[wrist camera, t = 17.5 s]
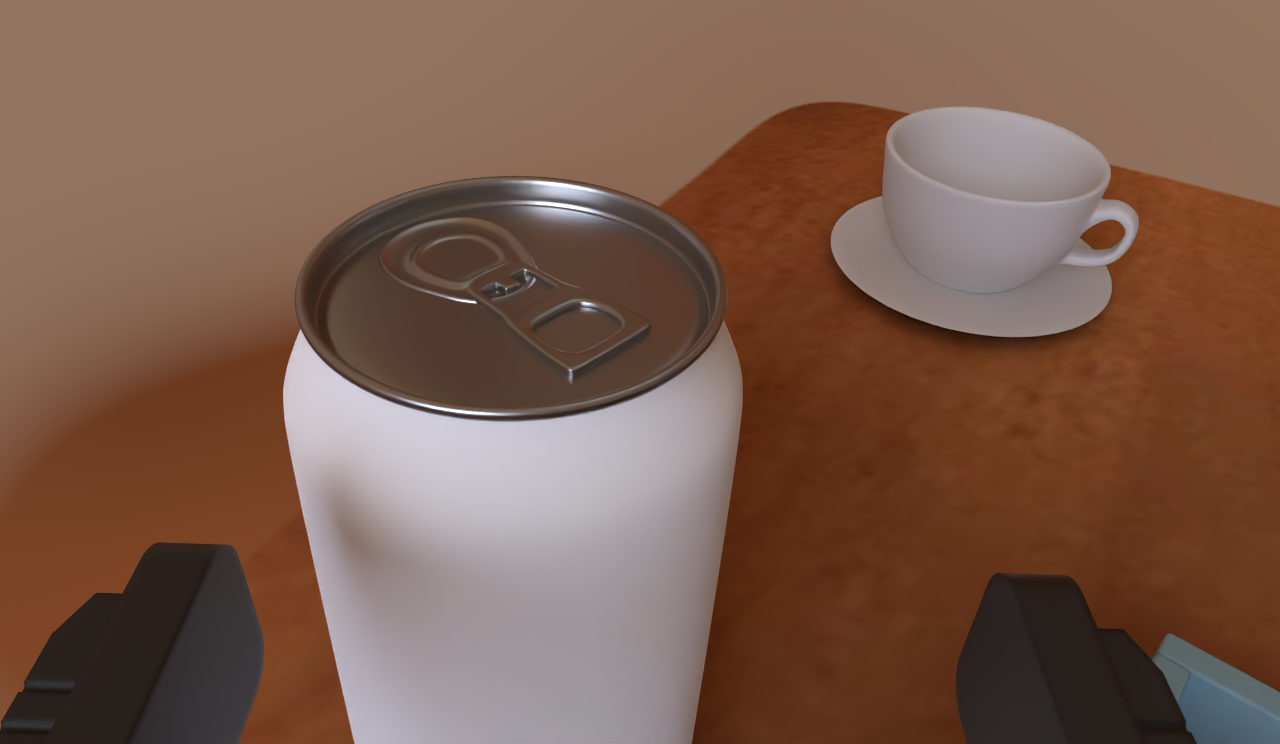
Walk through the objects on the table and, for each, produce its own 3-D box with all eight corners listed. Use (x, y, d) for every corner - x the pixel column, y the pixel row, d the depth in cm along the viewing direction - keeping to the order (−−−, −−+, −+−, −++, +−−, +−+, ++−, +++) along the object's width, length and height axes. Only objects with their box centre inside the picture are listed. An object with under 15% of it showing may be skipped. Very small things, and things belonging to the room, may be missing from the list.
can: (538, 588, 24) (531, 125, 17) (748, 761, 21) (857, 282, 13) (303, 765, 20) (158, 265, 13) (517, 1013, 17) (488, 533, 10)
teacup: (786, 288, 35) (805, 167, 32) (880, 179, 42) (903, 72, 39) (1077, 385, 31) (1128, 258, 28) (1129, 248, 38) (1174, 134, 35)
